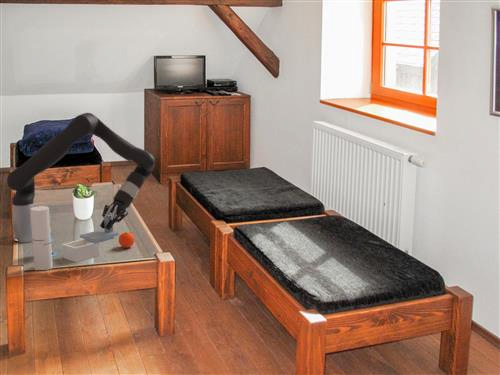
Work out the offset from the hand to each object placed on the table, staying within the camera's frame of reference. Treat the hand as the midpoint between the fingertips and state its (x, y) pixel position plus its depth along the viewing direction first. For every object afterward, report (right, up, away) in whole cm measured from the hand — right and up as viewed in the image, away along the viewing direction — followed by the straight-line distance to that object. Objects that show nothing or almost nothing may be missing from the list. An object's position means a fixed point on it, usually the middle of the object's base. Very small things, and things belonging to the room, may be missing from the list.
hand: (104, 228), depth 310 cm
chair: (-28, -13, +10) cm, 32 cm away
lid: (-2, -5, -1) cm, 5 cm away
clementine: (+6, -10, +23) cm, 26 cm away
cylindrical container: (-24, -16, -5) cm, 29 cm away
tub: (-12, -13, +9) cm, 20 cm away
